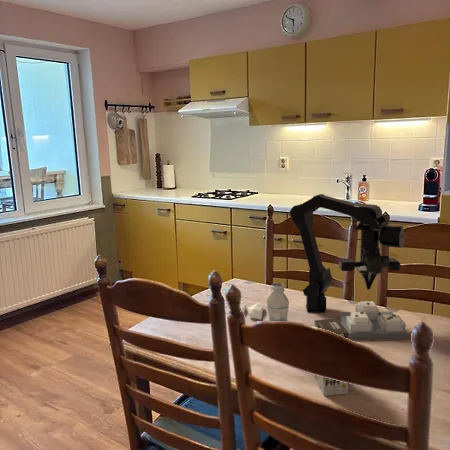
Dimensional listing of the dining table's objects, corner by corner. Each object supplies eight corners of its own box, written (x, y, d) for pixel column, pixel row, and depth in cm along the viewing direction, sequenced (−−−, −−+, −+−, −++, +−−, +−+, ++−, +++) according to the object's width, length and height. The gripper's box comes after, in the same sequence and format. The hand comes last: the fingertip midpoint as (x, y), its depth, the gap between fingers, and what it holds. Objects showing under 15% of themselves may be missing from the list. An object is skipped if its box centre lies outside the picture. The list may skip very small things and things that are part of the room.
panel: (349, 339, 135) (349, 326, 134) (338, 317, 151) (338, 305, 150) (408, 339, 133) (409, 325, 132) (391, 317, 150) (392, 304, 149)
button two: (353, 326, 136) (353, 316, 136) (350, 320, 140) (350, 311, 140) (367, 326, 136) (368, 316, 135) (364, 320, 140) (364, 311, 140)
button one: (362, 314, 145) (363, 305, 144) (359, 309, 149) (359, 301, 148) (376, 314, 144) (376, 305, 144) (372, 309, 149) (373, 300, 148)
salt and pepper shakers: (258, 322, 151) (271, 311, 160) (258, 310, 150) (271, 300, 160) (228, 316, 157) (242, 306, 166) (228, 305, 156) (242, 296, 166)
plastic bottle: (284, 355, 126) (283, 290, 123) (263, 350, 130) (262, 286, 126) (293, 346, 132) (292, 283, 128) (273, 341, 135) (272, 280, 132)
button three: (386, 329, 136) (386, 319, 135) (382, 323, 140) (382, 314, 139) (400, 329, 135) (400, 319, 135) (396, 323, 140) (396, 314, 139)
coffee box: (349, 394, 106) (350, 333, 103) (323, 396, 106) (324, 335, 103) (336, 374, 115) (337, 317, 112) (313, 376, 115) (313, 319, 112)
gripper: (345, 250, 135) (344, 298, 138) (407, 249, 133) (405, 297, 136) (339, 242, 146) (338, 286, 149) (396, 241, 144) (394, 285, 147)
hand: (368, 289), depth 145 cm, fingers closed
